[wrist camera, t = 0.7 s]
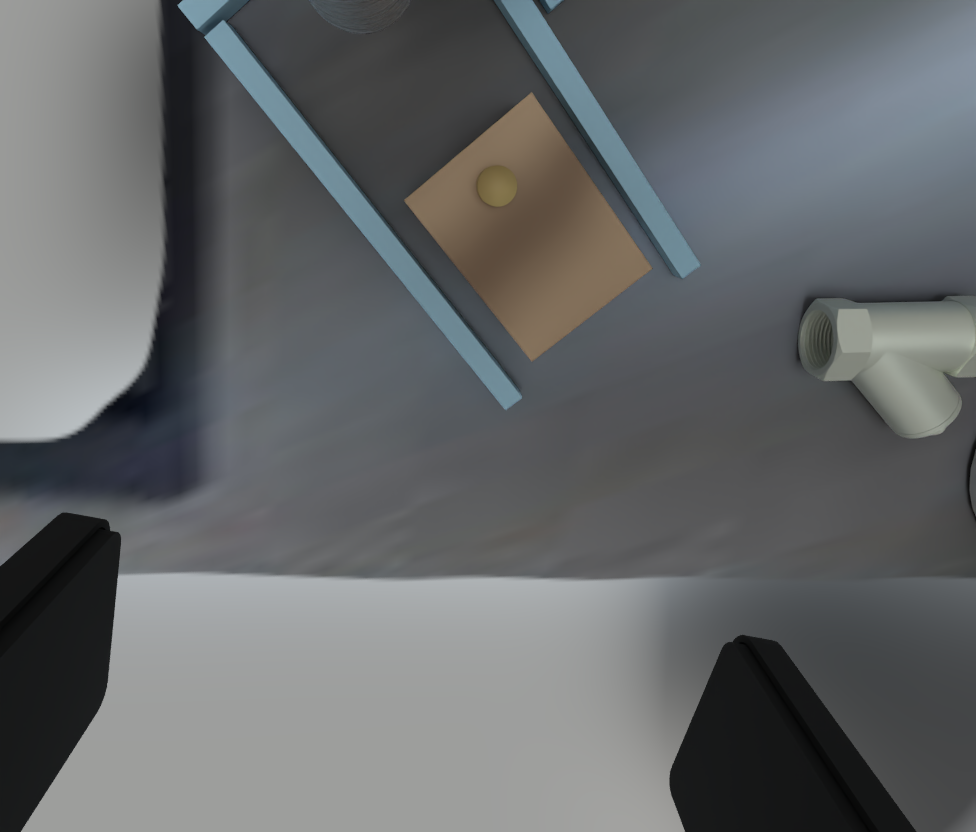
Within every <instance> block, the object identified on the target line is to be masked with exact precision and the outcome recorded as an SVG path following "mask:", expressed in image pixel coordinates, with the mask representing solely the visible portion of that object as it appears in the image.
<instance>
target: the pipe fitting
mask: <svg viewBox="0 0 976 832" xmlns="http://www.w3.org/2000/svg"><path fill="white" fill-rule="evenodd" d="M798 349H799V355H800V359H801V363H802V366H803V368H804V369H805V370H806V371H807V372H808V373H810V374H811V375H813V376H814V377H816V378H818V379H820V380H822V381H845V380H851V381H852V382H853V383H854V384H855V386H856V387H857V388H858V389H859V390H860V392H861V393H862V394H863V395H864V397H865V398H866V399H867V400H868V401H869V403H870V404H871V405H872V406H873V407H874V409H875V410H876V411H877V412H878V413H879V415H880V416H881V417H882V418H883V420H884V421H885V422H886V423H887V424H888V426H889V427H890V428H891V429H892V430H893V432H894V433H896V434H897V435H899V436H901V437H904V438H922V437H926V436H930V435H937V434H940V433H942V432H944V431H945V429H946V427H947V426H948V425H949V424H951V423H952V422H953V421H954V420H955V418H956V417H957V416H958V414H959V412H960V410H961V406H962V399H961V396H960V395H959V393H958V392H957V391H956V389H955V388H954V387H953V385H952V384H951V383H950V381H949V380H948V379H947V377H946V376H945V375H944V373H946V374H948V375H951V376H953V377H976V296H946V297H945V298H944V299H943V300H942V301H934V302H883V303H856V302H853V301H851V300H848V299H844V298H819V299H815V300H814V302H813V303H812V304H811V305H810V306H809V308H808V309H807V311H806V312H805V314H804V316H803V318H802V320H801V323H800V327H799V333H798Z"/></svg>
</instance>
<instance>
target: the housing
mask: <svg viewBox="0 0 976 832" xmlns="http://www.w3.org/2000/svg"><path fill="white" fill-rule="evenodd" d="M404 201H405V203H406V204H407V205H408V206H409V208H410V209H411V210H412V211H413V213H414V214H415V215H416V216H417V218H418V219H419V220H420V222H421V223H422V224H423V225H424V227H425V228H426V229H427V230H428V232H429V233H430V234H431V235H432V237H433V238H434V239H435V240H436V242H437V243H438V244H439V245H440V247H441V248H442V249H443V250H444V252H445V253H446V254H447V256H448V257H449V258H450V259H451V261H452V262H453V263H454V264H455V266H456V267H457V268H458V269H459V271H460V272H461V273H462V274H463V276H464V277H465V278H466V279H467V281H468V282H469V283H470V284H471V286H472V287H473V288H474V290H475V291H476V292H477V293H478V295H479V296H480V297H481V298H482V300H483V301H484V302H485V303H486V305H487V306H488V307H489V308H490V310H491V311H492V312H493V313H494V315H495V316H496V317H497V318H498V320H499V321H500V322H501V324H502V325H503V326H504V327H505V329H506V330H507V331H508V332H509V334H510V335H511V336H512V337H513V339H514V340H515V341H516V342H517V344H518V345H519V346H520V347H521V349H522V350H523V351H524V352H525V354H526V355H527V356H528V358H529V359H530V360H531V361H534V360H535V359H536V358H537V357H539V356H540V355H541V354H543V353H544V352H545V351H547V350H548V349H549V348H550V347H552V346H553V345H554V344H556V343H557V342H558V341H559V340H561V339H562V338H563V337H565V336H566V335H567V334H569V333H570V332H571V331H572V330H574V329H575V328H576V327H578V326H579V325H580V324H581V323H583V322H584V321H585V320H587V319H588V318H589V317H591V316H592V315H593V314H594V313H596V312H597V311H598V310H600V309H601V308H602V307H603V306H605V305H606V304H607V303H609V302H610V301H611V300H613V299H614V298H615V297H616V296H618V295H619V294H620V293H622V292H623V291H624V290H625V289H627V288H628V287H629V286H631V285H632V284H633V283H635V282H636V281H637V280H638V279H640V278H641V277H642V276H644V275H645V274H646V273H647V272H649V271H650V270H651V269H653V268H652V267H651V265H650V264H649V263H648V261H647V260H646V258H645V257H644V255H643V254H642V252H641V251H640V249H639V248H638V247H637V245H636V244H635V242H634V241H633V239H632V238H631V236H630V235H629V233H628V232H627V231H626V229H625V228H624V226H623V225H622V223H621V222H620V220H619V219H618V217H617V216H616V215H615V213H614V212H613V210H612V209H611V207H610V206H609V204H608V203H607V201H606V200H605V198H604V197H603V196H602V194H601V193H600V191H599V190H598V188H597V187H596V185H595V184H594V182H593V181H592V180H591V178H590V177H589V175H588V174H587V172H586V171H585V169H584V168H583V166H582V165H581V164H580V162H579V161H578V159H577V158H576V156H575V155H574V153H573V152H572V150H571V149H570V148H569V146H568V145H567V143H566V142H565V140H564V139H563V137H562V136H561V134H560V133H559V132H558V130H557V129H556V127H555V126H554V124H553V123H552V121H551V120H550V118H549V117H548V115H547V114H546V113H545V111H544V110H543V108H542V107H541V105H540V104H539V102H538V101H537V99H536V98H535V97H534V95H533V94H532V92H531V93H530V94H529V95H528V96H527V97H525V98H524V99H523V100H522V101H521V102H520V103H518V104H517V105H516V106H515V107H514V108H512V109H511V110H510V111H509V112H508V113H507V114H505V115H504V116H503V117H502V118H501V119H499V120H498V121H497V122H496V123H495V124H494V125H492V126H491V127H490V128H489V129H488V130H486V131H485V132H484V133H483V134H482V135H481V136H479V137H478V138H477V139H476V140H475V141H473V142H472V143H471V144H470V145H469V146H468V147H466V148H465V149H464V150H463V151H462V152H460V153H459V154H458V155H457V156H456V157H455V158H453V159H452V160H451V161H450V162H449V163H447V164H446V165H445V166H444V167H443V168H442V169H440V170H439V171H438V172H437V173H436V174H435V175H433V176H432V177H431V178H430V179H429V180H427V181H426V182H425V183H424V184H423V185H422V186H420V187H419V188H418V189H417V190H416V191H414V192H413V193H412V194H411V195H410V196H409V197H407V198H406V199H405V200H404Z"/></svg>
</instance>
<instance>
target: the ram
mask: <svg viewBox="0 0 976 832" xmlns="http://www.w3.org/2000/svg"><path fill="white" fill-rule="evenodd" d="M309 2H310V3H311V4H312V6H313V7H314V8H315V10H316V11H317V12H318V13H319V14H320V15H321V16H322V17H323V18H324V19H325V20H326V21H327V22H329V23H330V24H332V25H333V26H335V27H337V28H339V29H341V30H343V31H346V32H350V33H354V34H370V33H375V32H378V31H381V30H384V29H386V28H387V27H389V26H391V25H392V24H393V23H395V22H396V21H397V20H398V19H399V18H400V17H401V16H402V15H403V13H404V12H405V11H406V9H407V7H408V6H409V4H410V2H411V0H309Z"/></svg>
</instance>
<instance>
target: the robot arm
mask: <svg viewBox="0 0 976 832" xmlns="http://www.w3.org/2000/svg"><path fill="white" fill-rule="evenodd" d="M969 489H970V496H971V503H972V508H973V511H974V513H975V516H976V451H975V455H974V459H973V462H972V466H971V473H970V488H969ZM120 547H121V536H120V534H119V533H118V532H113V531H110V526H109V522H108V521H107V520H105V519H100V518H94V517H89V516H83V515H78V514H72V513H61V514H60V515H58V516H57V517H56V518H55V519H53V520H52V521H51V522H50V523H49V524H48V525H47V526H46V527H44V528H43V529H42V530H41V531H40V532H39V533H38V534H36V535H35V536H34V537H33V538H32V539H31V540H30V541H29V542H27V543H26V544H25V545H24V546H23V547H22V548H21V549H20V550H18V551H17V552H16V553H15V554H14V555H13V556H12V557H10V558H9V559H8V560H7V561H6V562H5V563H4V564H3V565H1V566H0V832H21V830H22V829H23V827H24V826H25V824H26V822H27V821H28V819H29V818H30V816H31V815H32V813H33V812H34V810H35V808H36V807H37V805H38V804H39V802H40V801H41V799H42V798H43V796H44V794H45V793H46V791H47V790H48V788H49V787H50V785H51V784H52V782H53V780H54V779H55V777H56V776H57V774H58V773H59V771H60V770H61V768H62V766H63V765H64V763H65V762H66V760H67V759H68V757H69V755H70V754H71V752H72V751H73V749H74V748H75V746H76V745H77V743H78V741H79V740H80V738H81V737H82V735H83V734H84V732H85V731H86V729H87V727H88V726H89V724H90V723H91V721H92V719H93V718H94V716H95V715H96V713H97V712H98V710H99V708H100V706H101V703H102V701H103V698H104V696H105V692H106V688H107V683H108V672H109V662H110V650H111V641H112V630H113V620H114V610H115V599H116V588H117V578H118V568H119V558H120ZM670 791H671V795H672V798H673V800H674V803H675V806H676V808H677V811H678V814H679V816H680V819H681V822H682V824H683V827H684V830H685V832H916V831H915V829H914V828H913V827H912V825H911V824H910V822H909V821H908V820H907V818H906V817H905V815H904V814H903V813H902V811H901V810H900V809H899V807H898V806H897V804H896V803H895V802H894V800H893V799H892V798H891V796H890V795H889V794H888V792H887V791H886V790H885V788H884V787H883V785H882V784H881V783H880V781H879V780H878V778H877V777H876V776H875V774H874V773H873V772H872V770H871V769H870V767H869V766H868V765H867V763H866V762H865V760H864V759H863V758H862V756H861V755H860V754H859V752H858V751H857V749H856V748H855V747H854V745H853V744H852V743H851V741H850V740H849V739H848V737H847V736H846V734H845V733H844V732H843V730H842V729H841V728H840V726H839V725H838V723H837V722H836V721H835V719H834V718H833V717H832V715H831V714H830V712H829V711H828V710H827V708H826V707H825V706H824V704H823V703H822V701H821V700H820V699H819V697H818V696H817V695H816V693H815V692H814V690H813V689H812V688H811V686H810V685H809V684H808V682H807V681H806V680H805V678H804V677H803V675H802V674H801V673H800V671H799V670H798V668H797V667H796V666H795V664H794V663H793V662H792V660H791V659H790V657H789V656H788V655H787V653H786V652H785V651H784V649H783V648H782V646H781V645H779V644H778V642H775V641H772V640H767V639H762V638H756V637H750V636H745V635H740V636H738V637H737V638H735V639H734V641H733V642H728V643H726V644H725V645H724V646H723V648H722V650H721V652H720V654H719V657H718V659H717V662H716V664H715V666H714V669H713V671H712V673H711V676H710V678H709V680H708V683H707V685H706V688H705V690H704V692H703V695H702V697H701V699H700V702H699V704H698V706H697V709H696V711H695V713H694V716H693V718H692V720H691V723H690V725H689V728H688V730H687V732H686V735H685V737H684V739H683V742H682V744H681V746H680V749H679V751H678V753H677V756H676V758H675V761H674V763H673V765H672V768H671V771H670Z"/></svg>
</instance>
